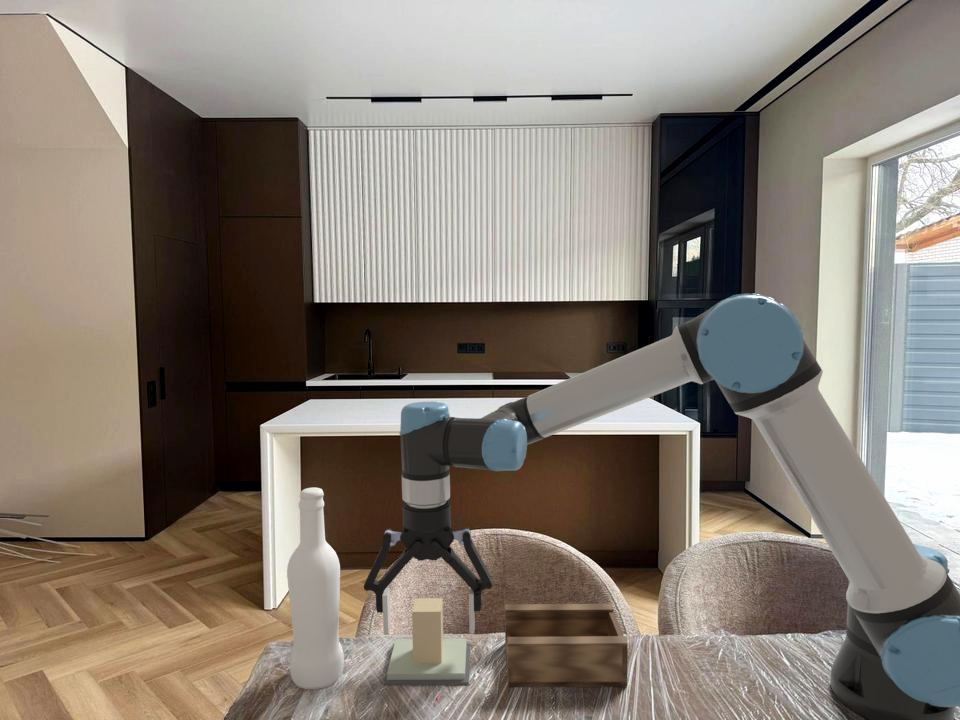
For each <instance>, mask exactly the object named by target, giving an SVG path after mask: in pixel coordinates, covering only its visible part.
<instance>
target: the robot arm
mask: <svg viewBox="0 0 960 720" xmlns="http://www.w3.org/2000/svg"><path fill="white" fill-rule="evenodd" d="M801 329H802V328H801V325H800V323H799V321H798V319H797V318H796V317H795V315H794V313H792V311H790V309H789V308H788V307H786V306H785V305H784V304H783V303H781V302H780V301H778V300H776V299H774V298H772V297H770V296H767V295H764V294H759V293H748V292H747V293H740V294H733V295H731V296H729V297H726V298H724V299H721V300H720V301H719V302H717V303H716V304H714V305H713V306H712V307H709V309H707V310H706V311H704V312H703V313H701V314H699V315H698V316H696V317H694V318H692V319H689V320H688V321H686V322H684V323H681V324H679V325H676V326H675V327H674V329H673V332H672V334H671V335H670V336H668V337H665V338H663V339H660V340H657V341H655V342H653V343H651V344H650V343H649V344H648V345H646V346H643V347H641V348H639V349H636V350H634V351H631V352H629V353H627V354H625V355H622V356H620V357H618V358H615V359H613V360H610V361H608V362H605V363H603V364H600V365H598V366H596V367H593V368H590V369H589V370H586V371H584V372H581V373H579V374H577V375H575V376H572V377H570V378H568V379H565V380H563V381H560V382H558V383H556V384H553V385H551V386H548V387H546V388H544V389H541V390H539V391H537V392H534V393H532V394H529V395H528V396H526V397H522V398H520V399H517V400H516V401H510V402H508V403H505V404H503V405H501V406H499V407H498V408H497V409H496V410H494V411H492V412H490V413H488V414H487V415H484V416H483V417H481V418H474V417H473V418H470V417H469V418H465V417H464V418H463V417H455V416H450V411H449V407H448V404H447V403H445V402H438V401H417V402H412V403H408V404H406V405H404V406H403V407H402V409H401V411H400V429H399V431H400V432H399V436H400V451H401V453H400V454H401V455H400V456H401V493H402V494H401V496H402V498H401V499H402V501H403V502H404V503H402V531H401V532H400V531H393V529H391V528H386V529H385V531H384V534H383V535H382V536H383V537H382V546H381V547H380V550H379V552H378V554H377V557H376V558H375V561H374V563H373V565H372V567H371V569H370V571H369V573H368V576H367V577H366V579H365V582H364V585H363V590H364V591H366V592H369V591H371V592H373V593H374V594H375V604H376V605H375V610H376V612H377V613H380V614H381V613H382V622H383V623H382V627H383V628H382V629H383V636H388V635H390V630H391V627H392V623H391V621H392V620H391V592H390V590H391V589H390V587H389V586H390V584H391V583H392V582H393V581H394V579H396V577H397V576H398V575H399V573H400V572H401V571H402V570H403V568H405V566H406V565H408V563H410V561H411V560H412V559H413V558H414V559H415V560H417V561H418V562H419V561H421V562H422V561H425V560H428V561H429V560H430V561H438V560H440V559H442V560H443V561H444V562H445V563H446V564H448V565H449V566H450V567H451V568H452V570H453V571H454V572H456V574H457V575H458V576H459V577H460V578H461V579H462V581H464V583H465V584H466V585H467V586H468V621H469V623H468V626H469V627H468V628H469V631H468V632H469V635H470V634H471V635H473V634H475V612H481V610H482V592H483V591H484V590H491V589H492V588H493V577H492V575H491V573H490V571H489V570H488V567H487V566H486V564H485V562H484V560H483V559H482V557H481V555H480V553H479V550H477V547H476V546H475V544H474V541H473V539H472V531H471V528H470V527H467V526H466V527H464V528H463V530H455V531H454V530H453V529H452V519H451V517H452V515H451V510H452V509H451V502H450V498H451V476H450V475H451V473H450V472H451V471H450V467H452V468H453V467H454V468H465V469H466V468H467V469H476V470H484V471H485V470H488V471H494V472H502V471H503V472H504V471H505V472H507V471H508V472H509V471H512V472H513V471H514V472H515V471H518V470H519V469H521V468H522V466H523V465H524V463H525V461H524V460H525V459H526V457H527V450H528V445H531V444H533V443H535V442H536V443H537V442H538V441H541V440H543V439H545V438H548V437H551V436H552V435H555V434H558V433H560V432H563V431H566V430H568V429H571V428H574V427H576V426H579V425H582V424H584V423H587V422H590V421H592V420H594V419H597V418H599V417H602V416H604V415H607V414H610V413H613V412H615V411H618V410H620V409H623V408H626V407H628V406H631V405H634V404H635V403H638V402H641V401H644V400H646V399H649V398H652V397H654V396H657V395H660V394H662V393H665V392H667V391H670V390H672V389H675V388H677V387H680V386H683V385H685V384H687V383H690V382H693V383H697V384H699V385H704V384H706V383H708V382H711V381H715V382H716V384H717V386H718V387H719V390H720V391H721V392H722V394H723V396H724V398H725V399H726V401H727V402H728V404H729V406H730V407H731V409H732V411H733V412H734V414H735V415H737V416H742V417H745V418H749V419H751V420H752V421H753V422H754V424H755V425H756V427H757V429H758V431H759V432H760V434H761V436H762V437H763V439H764V440H765V442H766V444H767V446H768V447H769V448H770V450H771V453H772V454H773V456H774V457H775V459H776V460H777V462H778V464H779V466H780V467H781V469H782V471H783V472H784V474H785V475H786V477H787V478H788V481H789V482H790V484H791V486H792V487H793V489H794V491H795V492H796V494H797V496H798V497H799V499H800V501H801V503H802V504H803V505H804V507H805V509H806V511H807V512H808V514H809V515H810V518H811V519H812V520H813V522H814V524H815V525H816V527H817V529H818V531H819V532H820V534H821V536H822V538H823V539H824V541H825V542H826V544H827V545H828V548H829V549H830V551H831V552H832V554H833V556H834V557H835V559H836V560H837V562H838V564H839V566H840V567H841V569H842V571H843V573H844V574H845V576H846V577H847V579H848V587H847V589H846V592H845V593H846V594H845V599H846V602H847V612H846V633H845V634H846V635H845V638H844V640H843V642H842V644H841V646H840V649H839V650H838V653H837V655H836V657H835V659H834V661H833V664H832V666H831V668H830V689H831V691H832V693H833V694H834V695H835V697H836V698H837V699H838V700H839V701H840V702H841V703H842V704H843V705H845V706H846V707H847V708H849V709H850V710H852V711H853V712H855V713H856V714H858V715H860V716H862V717H863V718H865V719H868V720H955V712H956V711H955V709H956V708H955V707H960V592H959V590H958V589H957V587H956V585H955V584H954V582H953V581H952V578H951V577H950V575H949V573H950V569H949V566H948V564H949V563H948V559H947V556H946V555H944V554H943V553H942V552H940V551H938V550H936V549H933V548H930V547H928V546H924V545H920V544H915V543H913V542H912V539H911V538H910V537H909V535H908V533H907V531H906V530H905V528H904V527H903V525H902V523H901V522H900V520H899V518H898V517H897V515H896V513H895V512H894V510H893V509H892V507H891V505H890V504H889V501H887V499H886V497H885V496H884V494H883V493H882V491H881V489H880V488H879V486H878V484H877V483H876V481H875V479H874V478H873V476H872V474H871V473H870V472H869V470H868V468H867V466H866V464H865V463H864V461H863V460H862V458H861V457H860V455H859V454H858V453H859V452H857V450H856V448H855V447H854V445H853V444H852V442H851V440H850V439H849V437H848V435H847V434H846V432H845V429H843V427H842V425H841V423H840V422H839V421H838V419H837V417H836V416H835V414H834V412H833V411H832V409H831V408H830V406H829V405H828V402H827V401H826V399H825V397H823V394H822V392H821V391H820V390H819V385H820V382H821V378H822V375H823V372H824V370H823V369H822V368H821V366H820V364H819V363H818V361H817V359H816V358H815V356H814V354H813V352H812V351H811V349H810V348H809V346H808V344H807V343H806V341H805V340H804V334H803V332H802V331H801ZM454 540H456V541H457V542H458V544H459V545H460V546H463V547H464V550H465V552H466V555H467V556H468V558H469V560H470V562H471V563H472V566H473V568H474V570H475V571H476V573H477V575H478V576H476V575H475V573H474V572H473V571H472V569H470V568H469V566H468V565H466V563H465V562H464V561H463V560H462V559H461V558H460V557H459V556H458V555H457V554H456V552H455V550H454V548H453V547H451V546H452V543H453V542H454ZM398 541H400V542H401V544H402V545H403V547H404V548H405V549H404V550H403V551H402V552H401V554H400V555H399V556H398V558H397V559H396V560H395V562H393V564H392V565H391V566H390V567H389V568H388V570H387V571H386V572H385V573H384V574H383V576H382V577H381V578H380V579H379V580H377V577H378V575H379V573H380V570H381V569H382V566H383V565H384V562H385V561H386V558H387V557H388V554H389V551H390V549H391V547H394V546H396V545H397V544H396V543H397V542H398ZM478 577H479V578H478Z"/></svg>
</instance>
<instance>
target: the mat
mask: <svg viewBox="0 0 960 720" xmlns="http://www.w3.org/2000/svg"><path fill="white" fill-rule="evenodd" d="M394 644H395V643H393V644H392V649H391V652H390V657H389V661H388V663H387V664H388V665H387V669H386V673H385V674H384V675H385V676H384V680H383V686H467V685H468V686H469V685H470V662H471V660H470V659H471V656H470V655H471V643H469V642H467V646H466V667H465V680H387V671H388V667H389V663H390V659H391V655H392V651H393V648H394Z"/></svg>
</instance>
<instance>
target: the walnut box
mask: <svg viewBox="0 0 960 720" xmlns="http://www.w3.org/2000/svg"><path fill="white" fill-rule="evenodd" d="M613 607H614V606H613V605H612V603H543V604H542V603H537V604H536V603H535V604H533V603H530V604H529V603H528V604H527V603H526V604H525V603H524V604H522V603H519V604H517V603H515V604H504V634H505V635H504V637H505V638H504V645H506V647H505V660H506V674H507V675H506V677H507V687H508V688H583V687H584V688H588V687H589V688H594V687H595V688H598V687H599V688H601V687H602V688H603V687H604V688H606V687H607V688H608V687H609V688H612V687H613V688H614V687H615V688H616V687H617V688H618V687H622V686H627V687H628V657H629V656H628V655H629V654H628V649H629V648H628V646H629V644H628V643H629V642H628V641H627V638H626V636H625V635H624V634H623V632H622V629H621V627H620V624H619V621H618V620H617V617H616V614H615V612H614V608H613ZM622 688H623V687H622Z"/></svg>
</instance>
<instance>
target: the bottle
mask: <svg viewBox="0 0 960 720" xmlns="http://www.w3.org/2000/svg"><path fill="white" fill-rule="evenodd" d="M324 496H325V493H324V491H323V489H322V488H320V487H307V488H304V489H302V490H301V491H300V494H299V498H300V499H299V502H298V509H299V544H298V546H297V547H296V548H295V550H294V551H293V553H292V555H291V556H290V557H289V559H288V563H287V568H286V569H287V570H286V578H287V586H288V596H289V607H290V614H291V615H290V617H291V625H292V626H291V627H292V635H293V646H292V650H291V654H290V657H289V667H290V668H289V669H290V670H289V671H290V676H291V680H292V681H293V683H294V684H295V686H297V687H298V688H301V689H303V690H319V689H324V688H326V687H329V686H331V685H333V684H334V683H336V682H337V681H338V680H339V679H340V677H341V676H342V674H343V669H344V664H345V663H344V661H345V660H344V657H345V656H344V651H343V647H342V644H341V642H340V638H339V637H340V636H339V621H340V619H339V618H340V616H339V615H340V595H341V594H340V592H341V591H340V590H341V589H340V588H341V565H340V564H341V563H340V559H339V557H338V555H337V552H336V550H334V549H333V547H332V546H331V545H330V544H329V543H328V542H327V540H326V533H325V531H326V530H325V514H324V507H325V501H324Z"/></svg>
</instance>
